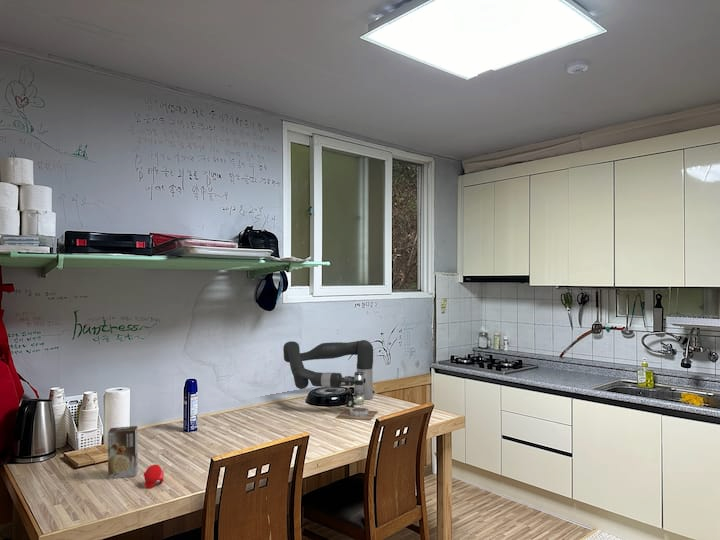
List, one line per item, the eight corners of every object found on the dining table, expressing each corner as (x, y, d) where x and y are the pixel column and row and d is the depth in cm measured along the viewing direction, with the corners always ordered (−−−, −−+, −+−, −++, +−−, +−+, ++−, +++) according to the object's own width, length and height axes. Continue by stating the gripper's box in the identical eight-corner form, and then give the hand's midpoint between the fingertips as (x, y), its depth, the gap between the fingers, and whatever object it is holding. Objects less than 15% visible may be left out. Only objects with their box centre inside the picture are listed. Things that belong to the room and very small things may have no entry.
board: (344, 411, 265) (344, 409, 265) (378, 413, 260) (378, 411, 260) (334, 420, 247) (334, 418, 247) (370, 422, 243) (370, 420, 243)
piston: (355, 393, 256) (355, 371, 257) (364, 393, 255) (364, 372, 255) (353, 395, 252) (353, 373, 252) (362, 395, 251) (362, 373, 251)
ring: (352, 411, 259) (352, 406, 259) (370, 412, 257) (370, 408, 257) (347, 416, 250) (347, 411, 250) (366, 417, 248) (365, 412, 248)
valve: (357, 403, 281) (344, 408, 271) (357, 392, 281) (344, 396, 271) (367, 405, 277) (354, 410, 267) (367, 393, 277) (354, 397, 267)
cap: (147, 470, 174) (139, 466, 169) (164, 463, 175) (156, 459, 170) (149, 493, 170) (140, 490, 165) (166, 487, 171) (158, 483, 166)
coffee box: (138, 470, 183) (138, 425, 184) (135, 476, 177) (136, 430, 177) (110, 472, 181) (110, 427, 181) (107, 479, 174) (107, 432, 175)
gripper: (327, 375, 250) (360, 376, 246) (335, 370, 264) (367, 371, 260) (327, 390, 250) (360, 392, 246) (335, 384, 264) (367, 386, 260)
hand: (363, 381), depth 253 cm, fingers closed on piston, 4 cm apart
